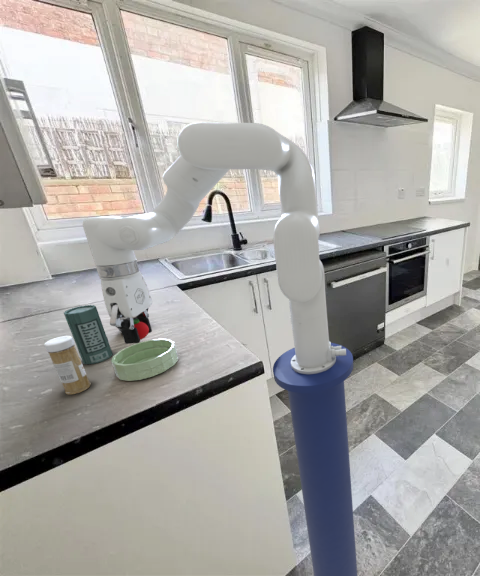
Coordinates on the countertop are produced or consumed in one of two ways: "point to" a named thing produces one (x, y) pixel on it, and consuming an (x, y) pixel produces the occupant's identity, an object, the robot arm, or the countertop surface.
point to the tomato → (141, 328)
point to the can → (88, 334)
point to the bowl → (145, 359)
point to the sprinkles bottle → (67, 364)
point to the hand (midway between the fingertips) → (139, 337)
